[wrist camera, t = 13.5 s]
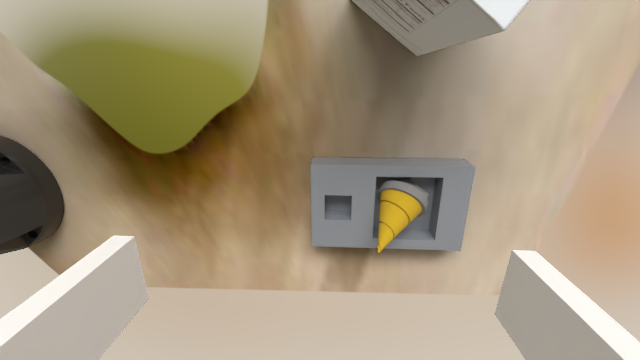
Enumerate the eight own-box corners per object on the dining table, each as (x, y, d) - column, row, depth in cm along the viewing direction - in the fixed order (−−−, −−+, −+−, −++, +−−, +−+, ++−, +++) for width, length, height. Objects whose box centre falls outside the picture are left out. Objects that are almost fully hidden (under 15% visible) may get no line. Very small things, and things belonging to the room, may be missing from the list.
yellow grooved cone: (433, 196, 35) (402, 272, 31) (389, 181, 37) (355, 251, 33) (440, 169, 31) (406, 254, 26) (390, 155, 33) (351, 231, 28)
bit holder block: (314, 233, 38) (311, 246, 35) (313, 157, 34) (310, 164, 32) (451, 237, 37) (460, 250, 34) (463, 158, 33) (475, 166, 30)
